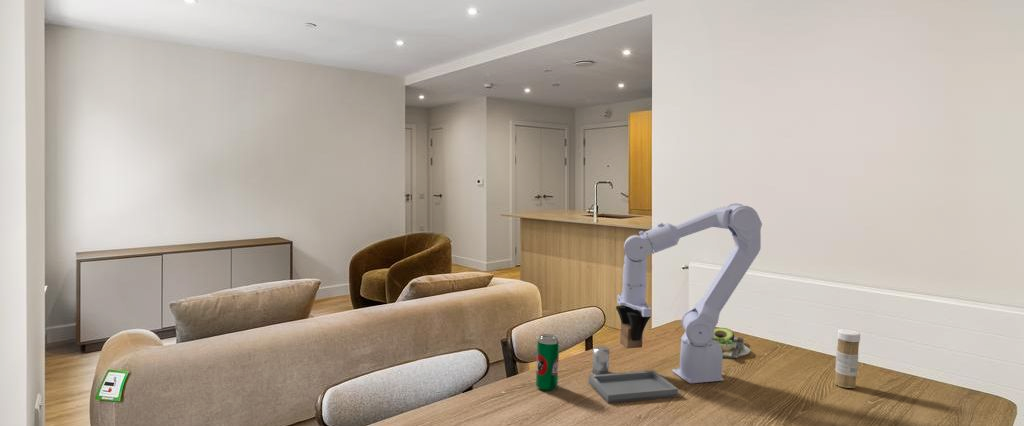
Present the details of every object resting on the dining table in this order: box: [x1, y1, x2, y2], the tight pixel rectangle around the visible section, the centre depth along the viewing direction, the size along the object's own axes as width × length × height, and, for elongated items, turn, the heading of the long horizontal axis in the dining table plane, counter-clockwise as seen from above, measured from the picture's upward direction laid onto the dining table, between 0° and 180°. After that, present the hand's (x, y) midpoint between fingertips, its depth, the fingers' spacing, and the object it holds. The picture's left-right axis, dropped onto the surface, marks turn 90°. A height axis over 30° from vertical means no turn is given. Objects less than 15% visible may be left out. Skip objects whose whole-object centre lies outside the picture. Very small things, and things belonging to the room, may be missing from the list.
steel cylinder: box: [591, 345, 610, 375], centre depth 131 cm, size 4×4×6 cm
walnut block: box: [619, 323, 644, 349], centre depth 132 cm, size 4×4×5 cm
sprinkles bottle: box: [833, 328, 861, 389], centre depth 125 cm, size 5×5×13 cm
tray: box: [587, 369, 679, 404], centre depth 121 cm, size 17×11×2 cm, turn 104°
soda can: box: [535, 333, 560, 392], centre depth 121 cm, size 5×5×12 cm
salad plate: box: [712, 327, 751, 359], centre depth 149 cm, size 19×18×5 cm
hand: (631, 337), depth 132 cm, fingers closed on walnut block, 4 cm apart
